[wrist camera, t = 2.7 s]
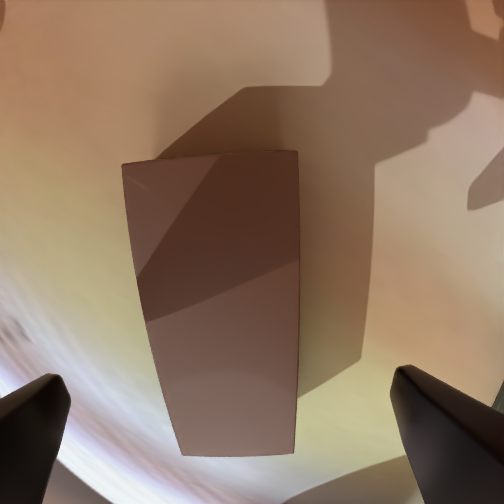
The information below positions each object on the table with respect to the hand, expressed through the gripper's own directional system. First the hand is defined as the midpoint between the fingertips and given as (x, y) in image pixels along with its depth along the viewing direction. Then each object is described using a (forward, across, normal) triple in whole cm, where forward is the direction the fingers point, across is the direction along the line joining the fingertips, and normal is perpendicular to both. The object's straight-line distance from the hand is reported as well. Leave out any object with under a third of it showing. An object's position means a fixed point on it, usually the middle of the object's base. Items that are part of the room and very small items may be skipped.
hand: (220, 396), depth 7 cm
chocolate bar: (+5, 0, 0) cm, 5 cm away
